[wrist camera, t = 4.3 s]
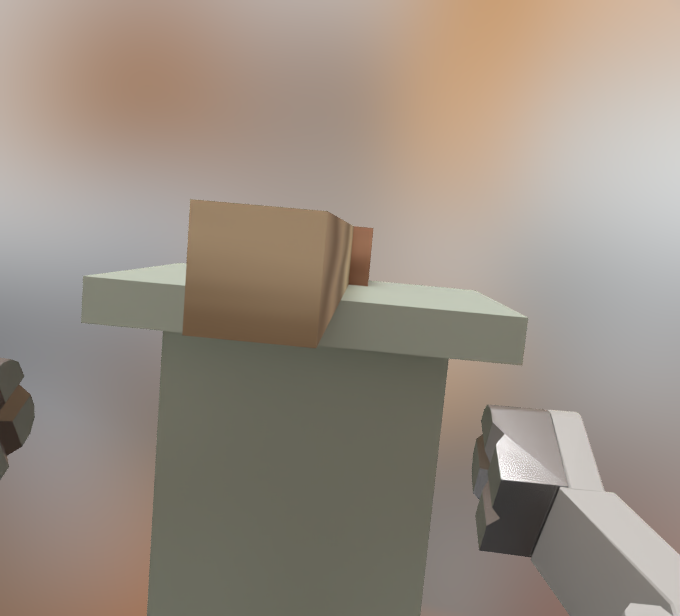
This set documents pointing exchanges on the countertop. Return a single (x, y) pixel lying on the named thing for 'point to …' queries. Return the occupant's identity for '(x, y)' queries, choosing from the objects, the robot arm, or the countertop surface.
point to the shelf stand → (300, 447)
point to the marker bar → (269, 271)
